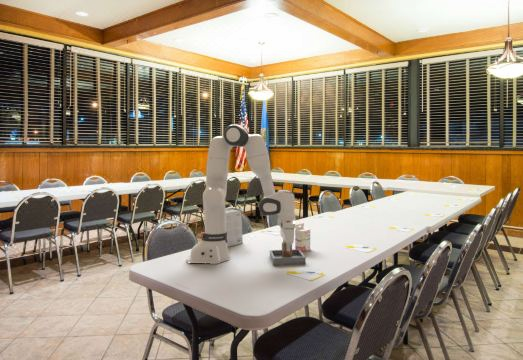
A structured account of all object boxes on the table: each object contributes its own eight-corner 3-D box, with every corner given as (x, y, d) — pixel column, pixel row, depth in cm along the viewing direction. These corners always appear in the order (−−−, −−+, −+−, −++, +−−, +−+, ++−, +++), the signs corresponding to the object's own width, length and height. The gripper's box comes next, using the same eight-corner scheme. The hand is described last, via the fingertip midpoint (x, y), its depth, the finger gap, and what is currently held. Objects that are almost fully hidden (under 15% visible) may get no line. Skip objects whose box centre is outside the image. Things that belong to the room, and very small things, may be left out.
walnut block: (283, 259, 203) (283, 244, 202) (282, 257, 207) (281, 242, 207) (292, 259, 203) (291, 243, 203) (290, 257, 208) (290, 241, 207)
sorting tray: (273, 265, 197) (273, 258, 197) (269, 256, 213) (269, 250, 212) (305, 264, 198) (305, 257, 198) (299, 255, 214) (299, 249, 214)
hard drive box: (234, 241, 250) (234, 209, 248) (243, 243, 244) (242, 210, 243) (215, 246, 239) (214, 212, 237) (223, 248, 233) (222, 214, 232)
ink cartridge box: (302, 252, 221) (302, 226, 219) (295, 251, 224) (294, 225, 223) (310, 249, 227) (310, 223, 226) (303, 248, 230) (303, 222, 229)
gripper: (277, 218, 214) (277, 244, 215) (283, 225, 194) (283, 253, 195) (289, 218, 215) (289, 243, 216) (296, 225, 194) (296, 253, 195)
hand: (286, 248), depth 205 cm, fingers open, 8 cm apart
